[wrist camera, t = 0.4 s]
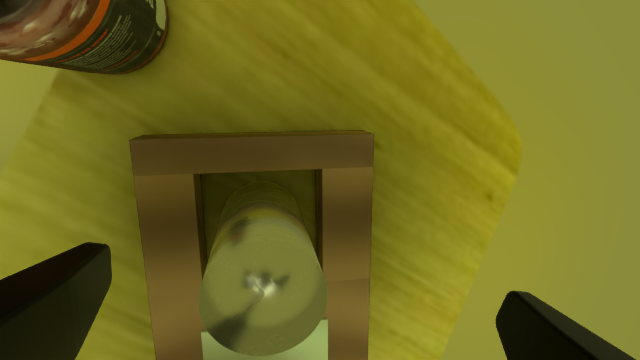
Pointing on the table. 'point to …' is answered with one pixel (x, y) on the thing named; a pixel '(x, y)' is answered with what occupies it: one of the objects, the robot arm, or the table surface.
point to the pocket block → (190, 245)
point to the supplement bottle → (83, 33)
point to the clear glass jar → (262, 274)
